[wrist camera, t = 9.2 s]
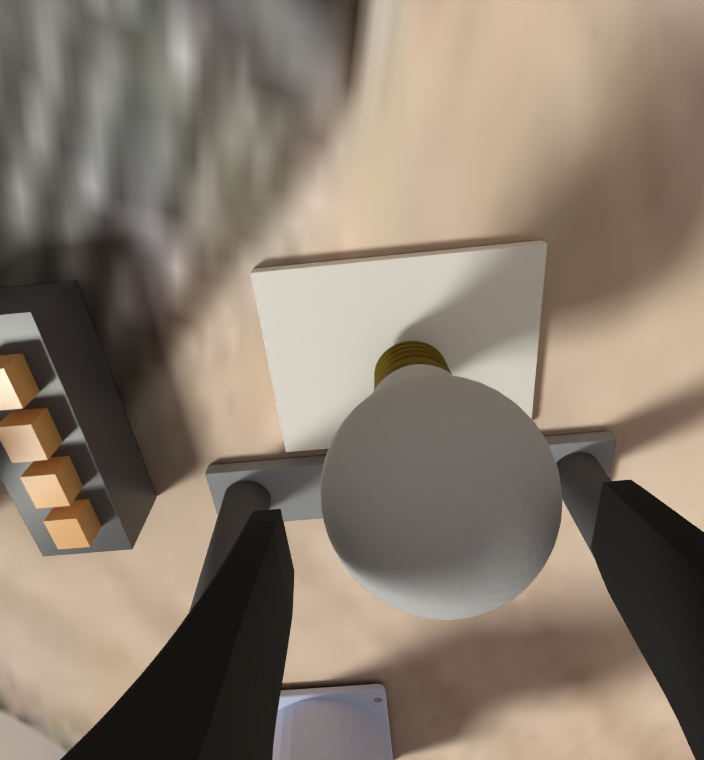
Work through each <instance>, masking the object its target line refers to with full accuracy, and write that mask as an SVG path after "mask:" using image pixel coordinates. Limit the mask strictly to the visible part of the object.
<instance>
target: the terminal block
mask: <svg viewBox="0 0 704 760" xmlns="http://www.w3.org/2000/svg"><path fill="white" fill-rule="evenodd" d="M0 479H1V481H2V483H3V485H4V486H5V488H6V490H7V492H8V494H9V495H10V497H11V499H12V501H13V503H14V504H15V506H16V508H17V510H18V512H19V513H20V515H21V517H22V519H23V521H24V522H25V524H26V526H27V528H28V530H29V531H30V533H31V535H32V537H33V539H34V540H35V542H36V544H37V546H38V548H39V549H40V551H41V553H42V555H43V556H53V555H66V554H78V553H91V552H103V551H115V550H128V549H133V547H134V545H135V542H136V540H137V538H138V536H139V534H140V532H141V530H142V527H143V525H144V523H145V521H146V519H147V517H148V515H149V512H150V510H151V508H152V506H153V504H154V502H155V500H156V497H157V496H156V493H155V491H154V488H153V485H152V483H151V480H150V477H149V475H148V472H147V469H146V466H145V464H144V461H143V458H142V456H141V453H140V450H139V448H138V445H137V442H136V439H135V437H134V434H133V431H132V429H131V426H130V423H129V421H128V418H127V415H126V412H125V410H124V407H123V404H122V402H121V399H120V396H119V394H118V391H117V388H116V386H115V383H114V380H113V377H112V375H111V372H110V369H109V367H108V364H107V361H106V359H105V356H104V353H103V350H102V348H101V345H100V342H99V340H98V337H97V334H96V332H95V329H94V326H93V323H92V321H91V318H90V315H89V313H88V310H87V307H86V305H85V302H84V299H83V296H82V294H81V291H80V288H79V286H78V283H77V280H75V281H65V282H55V283H45V284H35V285H25V286H15V287H5V288H0Z"/></svg>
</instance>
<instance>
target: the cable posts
mask: <svg viewBox="0 0 704 760" xmlns="http://www.w3.org/2000/svg"><path fill="white" fill-rule="evenodd" d="M544 438H545V439H546V441H547V443H548V445H549V447H550V449H551V452H552V454H553V457H554V459H555V462H556V465H557V467H558V472H559V476H560V483H561V489H562V499H563V501H564V503H565V505H566V507H567V508H568V510H569V512H570V514H571V516H572V518H573V519H574V521H575V523H576V525H577V527H578V529H579V530H580V532H581V534H582V536H583V538H584V540H585V542H586V543H587V545H588V547H589V549H590V551H591V553H592V550H591V544H592V538H593V533H594V527H595V522H596V517H597V511H598V506H599V500H600V495H601V489H602V484H603V482H609V481H612V480H611V479H610V478H609V475H610V470H611V465H612V460H613V454H614V449H615V444H616V438H615V437H614V436H613V434H612V433H611V432H610V431H602V432H590V433H578V434H567V435H555V436H544ZM325 458H326V455H322V456H310V457H298V458H287V459H275V460H263V461H252V462H240V463H228V464H217V465H209V466H208V469H207V471H206V478H207V481H208V484H209V488H210V491H211V494H212V498H213V501H214V504H215V508H216V511H217V514H218V518H217V521H216V524H215V528H214V531H213V534H212V538H211V541H210V544H209V548H208V551H207V555H206V558H205V561H204V565H203V568H202V571H201V575H200V578H199V581H198V585H197V588H196V591H195V595H194V598H193V601H192V605H191V608H190V611H191V610H192V608H193V607H194V605H195V604H196V603H197V601H198V600H199V598H200V597H201V595H202V594H203V593H204V591H205V590H206V588H207V586H208V585H209V583H210V582H211V580H212V579H213V577H214V576H215V574H216V572H217V571H218V569H219V568H220V566H221V565H222V563H223V561H224V560H225V558H226V556H227V555H228V553H229V551H230V550H231V548H232V546H233V545H234V543H235V541H236V540H237V538H238V536H239V534H240V533H241V531H242V529H243V527H244V525H245V524H246V522H247V520H248V518H249V516H250V515H251V514H252V513H253V512H254V511H259V510H271V509H281V513H282V518H283V521H295V520H307V519H319V518H323V514H322V508H321V478H322V472H323V466H324V461H325ZM592 554H593V553H592ZM593 556H594V555H593ZM190 611H189V612H190Z"/></svg>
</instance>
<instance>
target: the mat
mask: <svg viewBox="0 0 704 760" xmlns="http://www.w3.org/2000/svg"><path fill="white" fill-rule="evenodd" d="M546 255H547V243H546V242H544V241H543V240H539V241H528V242H518V243H508V244H498V245H488V246H478V247H468V248H457V249H447V250H437V251H427V252H417V253H407V254H397V255H386V256H376V257H366V258H356V259H346V260H336V261H326V262H315V263H305V264H295V265H285V266H275V267H265V268H255V269H252V271H251V278H252V284H253V289H254V294H255V299H256V304H257V309H258V314H259V319H260V324H261V329H262V334H263V339H264V344H265V349H266V354H267V359H268V365H269V370H270V375H271V380H272V385H273V390H274V395H275V400H276V405H277V410H278V415H279V420H280V425H281V430H282V435H283V441H284V446H285V451H286V452H295V451H306V450H318V449H329V447H330V444H331V442H332V439H333V438H334V436H335V434H336V433H337V431H338V429H339V428H340V426H341V424H342V423H343V421H344V420H345V419H346V418H347V417H348V415H349V414H350V413H351V412H352V411H353V410H354V408H355V407H357V406H358V405H359V404H360V403H361V402H363V401H364V400H365V399H366V398H367V397H368V396H370V395H371V394H372V393H373V392H374V371H375V366H376V364H377V361H378V360H379V358H380V357H381V355H382V354H383V353H384V352H385V351H386V350H387V349H389V348H390V347H392V346H394V345H396V344H398V343H401V342H406V341H420V342H424V343H427V344H429V345H431V346H433V347H434V348H436V349H437V350H438V351H439V352H440V353H441V354H442V356H443V357H444V359H445V361H446V363H447V365H448V368H449V370H450V372H451V374H452V375H453V376H459V377H463V378H467V379H470V380H474V381H477V382H480V383H482V384H484V385H487V386H489V387H491V388H493V389H495V390H497V391H499V392H500V393H502V394H503V395H505V396H506V397H508V398H509V399H510V400H512V401H513V402H515V403H516V404H517V405H518V406H519V407H520V408H521V409H522V410H523V411H524V412H525V413H526V414H527V415H528V416H529V417H530V418H531V419H532V409H533V398H534V387H535V376H536V365H537V354H538V343H539V332H540V321H541V310H542V299H543V288H544V277H545V266H546Z"/></svg>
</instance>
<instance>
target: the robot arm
mask: <svg viewBox="0 0 704 760" xmlns="http://www.w3.org/2000/svg"><path fill="white" fill-rule="evenodd" d="M591 550H592V553H593V555H594V558H595V560H596V563H597V566H598V568H599V571H600V573H601V576H602V578H603V580H604V583H605V585H606V588H607V590H608V592H609V594H610V596H611V598H612V600H613V602H614V604H615V605H616V607H617V609H618V611H619V613H620V614H621V616H622V618H623V620H624V622H625V624H626V625H627V627H628V629H629V631H630V633H631V634H632V636H633V638H634V640H635V642H636V643H637V645H638V647H639V649H640V651H641V652H642V654H643V656H644V658H645V660H646V661H647V663H648V665H649V667H650V668H651V670H652V672H653V674H654V676H655V677H656V679H657V681H658V683H659V685H660V686H661V688H662V690H663V692H664V694H665V695H666V697H667V699H668V701H669V703H670V705H671V707H672V709H673V711H674V713H675V715H676V717H677V719H678V721H679V723H680V726H681V728H682V730H683V732H684V735H685V737H686V739H687V741H688V744H689V746H690V748H691V750H692V753H693V755H694V757H695V759H696V760H704V532H703V531H701V530H700V529H699V528H697V527H696V526H694V525H693V524H692V523H690V522H689V521H687V520H686V519H685V518H683V517H682V516H681V515H679V514H678V513H676V512H675V511H674V510H672V509H671V508H670V507H668V506H667V505H666V504H664V503H663V502H661V501H660V500H659V499H657V498H656V497H655V496H653V495H652V494H650V493H649V492H648V491H646V490H645V489H644V488H642V487H641V486H639V485H638V484H636V483H635V482H634V481H632V480H621V481H609V482H603V484H602V489H601V495H600V500H599V506H598V511H597V517H596V522H595V527H594V533H593V538H592V544H591ZM293 591H294V568H293V563H292V559H291V554H290V550H289V545H288V541H287V536H286V531H285V527H284V522H283V518H282V513H281V509H271V510H259V511H254V512H253V513H252V514H251V515H250V516H249V518H248V520H247V522H246V524H245V525H244V527H243V529H242V531H241V533H240V534H239V536H238V538H237V540H236V541H235V543H234V545H233V546H232V548H231V550H230V551H229V553H228V555H227V556H226V558H225V560H224V561H223V563H222V565H221V566H220V568H219V569H218V571H217V572H216V574H215V576H214V577H213V579H212V580H211V582H210V583H209V585H208V586H207V588H206V590H205V591H204V593H203V594H202V595H201V597H200V598H199V600H198V601H197V603H196V604H195V605H194V607H193V608H192V610H191V611H190V612H189V614H188V615H187V617H186V618H185V619H184V621H183V622H182V624H181V625H180V626H179V628H178V629H177V631H176V632H175V633H174V634H173V636H172V637H171V638H170V640H169V641H168V642H167V644H166V645H165V646H164V647H163V649H162V650H161V651H160V652H159V654H158V655H157V656H156V657H155V659H154V660H153V661H152V662H151V663H150V665H149V666H148V667H147V668H146V669H145V671H144V672H143V673H142V674H141V675H140V677H139V678H138V679H137V680H136V681H135V682H134V683H133V684H132V686H131V687H130V688H129V689H128V690H127V691H126V692H125V693H124V695H123V696H122V697H121V698H120V699H119V700H118V701H117V702H116V704H115V705H114V706H113V707H112V708H111V709H110V710H109V711H108V712H107V713H106V714H105V715H104V716H103V718H102V719H101V720H100V721H99V722H98V723H97V724H96V725H95V726H94V727H93V728H92V729H91V730H90V731H89V732H88V733H87V734H86V735H85V736H84V737H83V738H82V739H81V740H80V741H79V742H78V743H77V744H76V745H75V746H74V747H73V748H72V749H71V750H70V751H69V752H68V753H67V754H66V755H65V756H64V757H62V759H60V760H393V754H392V744H391V735H390V726H389V717H388V708H387V699H386V690H385V687H384V686H383V685H381V684H366V685H352V686H338V687H324V688H310V689H295V690H281V687H282V680H283V674H284V668H285V661H286V655H287V648H288V642H289V635H290V628H291V621H292V612H293Z"/></svg>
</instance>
